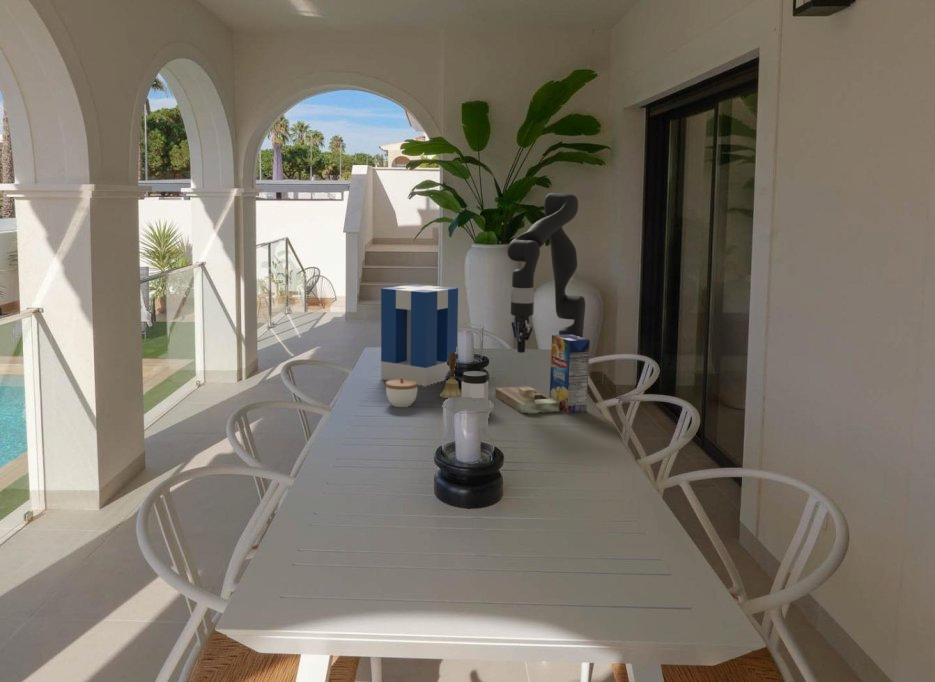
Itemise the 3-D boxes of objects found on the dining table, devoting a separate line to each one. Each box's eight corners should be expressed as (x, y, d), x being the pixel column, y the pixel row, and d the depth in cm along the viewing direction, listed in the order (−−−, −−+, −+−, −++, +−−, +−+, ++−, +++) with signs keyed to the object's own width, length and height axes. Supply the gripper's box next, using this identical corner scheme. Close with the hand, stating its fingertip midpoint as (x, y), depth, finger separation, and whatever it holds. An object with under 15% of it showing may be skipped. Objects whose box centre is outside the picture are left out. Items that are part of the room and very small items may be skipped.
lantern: (456, 376, 312) (458, 288, 306) (425, 386, 294) (426, 292, 288) (413, 370, 323) (414, 284, 317) (381, 379, 305) (381, 288, 299)
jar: (492, 409, 262) (493, 374, 260) (473, 413, 256) (474, 377, 254) (475, 404, 268) (476, 369, 266) (456, 407, 263) (457, 372, 261)
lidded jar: (422, 403, 269) (422, 376, 267) (410, 410, 259) (410, 382, 257) (393, 400, 272) (393, 373, 271) (380, 407, 262) (380, 379, 261)
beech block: (529, 398, 265) (529, 387, 264) (534, 401, 261) (534, 389, 260) (518, 399, 264) (518, 387, 263) (523, 402, 260) (523, 390, 259)
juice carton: (549, 404, 270) (551, 335, 266) (568, 403, 273) (571, 334, 269) (567, 413, 259) (569, 340, 255) (586, 411, 262) (589, 339, 258)
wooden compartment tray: (529, 394, 285) (529, 386, 284) (559, 411, 261) (559, 402, 261) (495, 396, 281) (495, 388, 280) (522, 413, 257) (522, 404, 257)
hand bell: (467, 395, 282) (468, 351, 279) (457, 400, 274) (457, 354, 271) (446, 392, 285) (446, 348, 282) (435, 397, 277) (436, 352, 275)
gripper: (540, 303, 258) (539, 355, 261) (525, 298, 270) (523, 348, 273) (519, 303, 255) (518, 356, 258) (504, 298, 268) (503, 349, 271)
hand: (521, 352), depth 266 cm, fingers closed
